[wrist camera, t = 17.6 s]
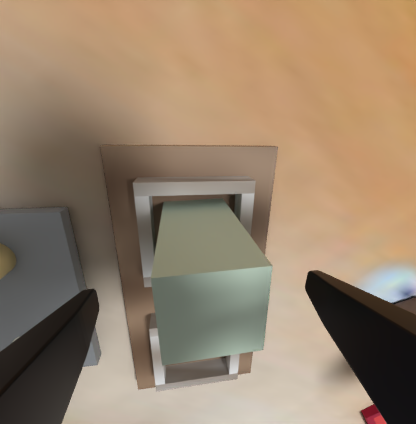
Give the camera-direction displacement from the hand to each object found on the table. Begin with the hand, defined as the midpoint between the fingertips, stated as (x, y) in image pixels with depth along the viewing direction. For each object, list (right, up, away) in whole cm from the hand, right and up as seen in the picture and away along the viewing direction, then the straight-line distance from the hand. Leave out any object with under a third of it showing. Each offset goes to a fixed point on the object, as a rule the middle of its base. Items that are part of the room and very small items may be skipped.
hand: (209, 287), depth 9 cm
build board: (-1, -3, +9) cm, 9 cm away
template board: (-14, -3, +7) cm, 16 cm away
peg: (-1, +2, +6) cm, 7 cm away
